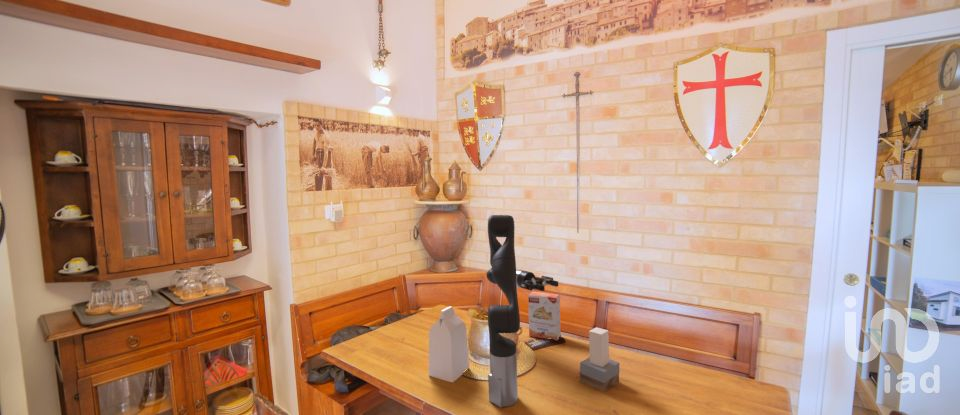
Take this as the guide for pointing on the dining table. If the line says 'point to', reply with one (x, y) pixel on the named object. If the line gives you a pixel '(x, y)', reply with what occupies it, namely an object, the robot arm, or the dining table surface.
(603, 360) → the cream block
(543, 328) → the cracker box
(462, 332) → the milk
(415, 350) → the dining table surface
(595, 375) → the tower top
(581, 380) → the tower base
